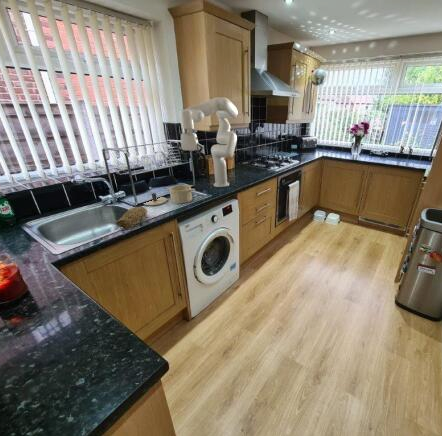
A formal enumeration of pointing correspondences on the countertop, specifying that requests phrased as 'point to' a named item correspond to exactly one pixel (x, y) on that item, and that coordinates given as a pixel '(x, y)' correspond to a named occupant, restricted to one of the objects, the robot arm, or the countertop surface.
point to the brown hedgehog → (132, 217)
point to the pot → (180, 193)
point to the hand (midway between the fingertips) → (191, 159)
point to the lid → (156, 200)
